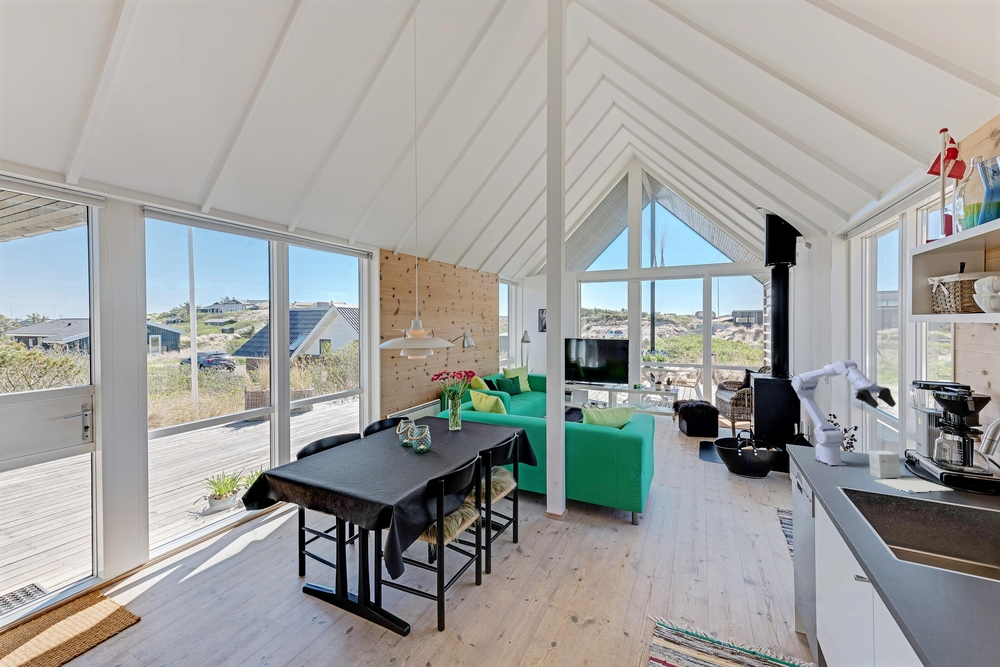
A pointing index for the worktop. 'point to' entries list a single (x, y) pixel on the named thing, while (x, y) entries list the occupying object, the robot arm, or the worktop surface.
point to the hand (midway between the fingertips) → (885, 405)
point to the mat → (913, 485)
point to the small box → (884, 464)
